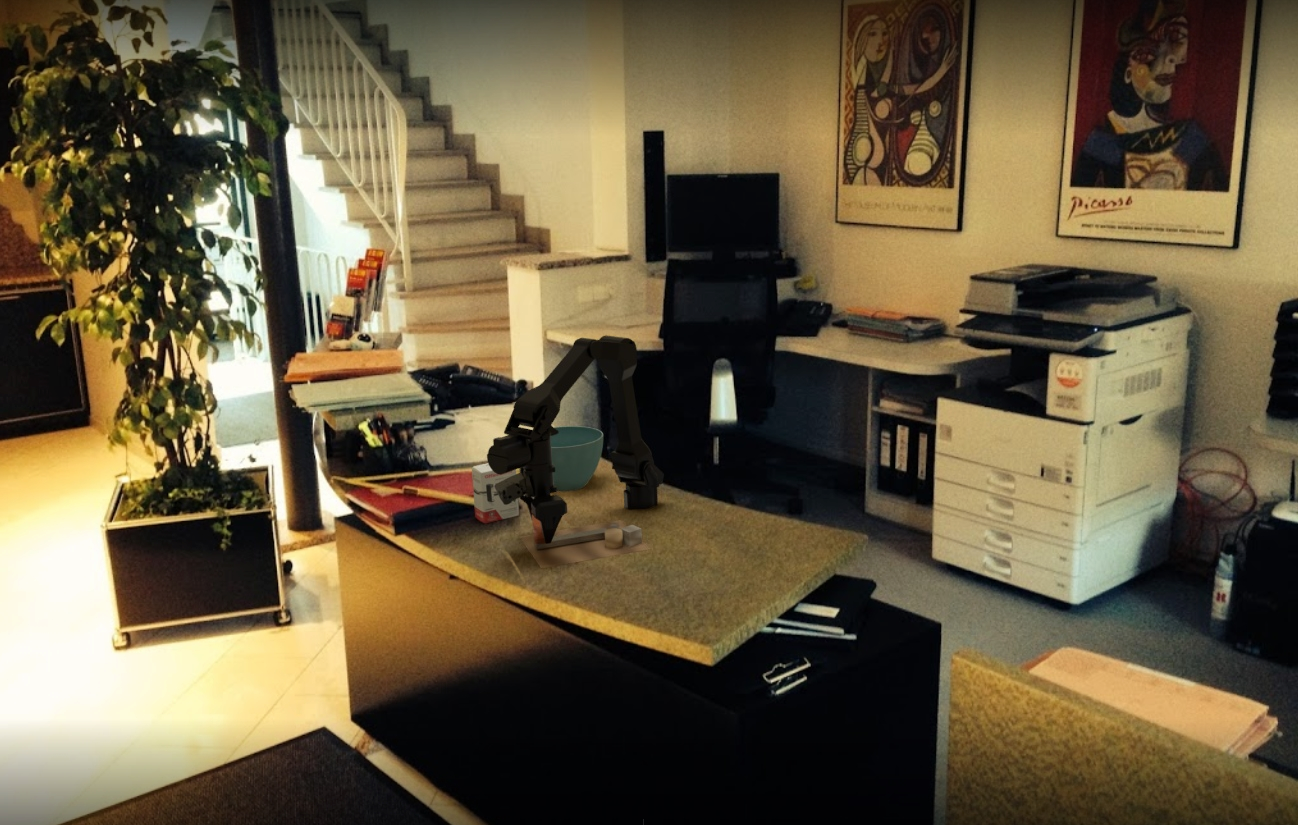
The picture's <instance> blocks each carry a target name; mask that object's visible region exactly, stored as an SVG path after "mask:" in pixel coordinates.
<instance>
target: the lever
mask: <svg viewBox="0 0 1298 825" xmlns="http://www.w3.org/2000/svg"><path fill="white" fill-rule="evenodd" d="M531 522H532V523H531V524H532V534H533V537H534V546H535V547H536V549H543V548H549V547H555V546H561V545H567V544H573V543H579V542H585V541H591V540H597V539H603V538H605V531H606V530H607V529H606V528H602V529H596V530H590V531H584V532H578V533H572V534H566V535H559V536H554V537H553V539H552V542H551V543H549V544H546V543H545V540H544V537H543V533H542V529H541V525H540V521H539V520H538V519H536V518H535V517H534V516H533V515H532V519H531Z"/></svg>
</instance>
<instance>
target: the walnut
mask: <svg viewBox="0 0 1298 825" xmlns="http://www.w3.org/2000/svg"><path fill="white" fill-rule="evenodd" d="M605 547H606V548H608V549H618V548H621V547H623V533H622V530H621V529H617V528H612V529H608V530H606V531H605Z"/></svg>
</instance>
